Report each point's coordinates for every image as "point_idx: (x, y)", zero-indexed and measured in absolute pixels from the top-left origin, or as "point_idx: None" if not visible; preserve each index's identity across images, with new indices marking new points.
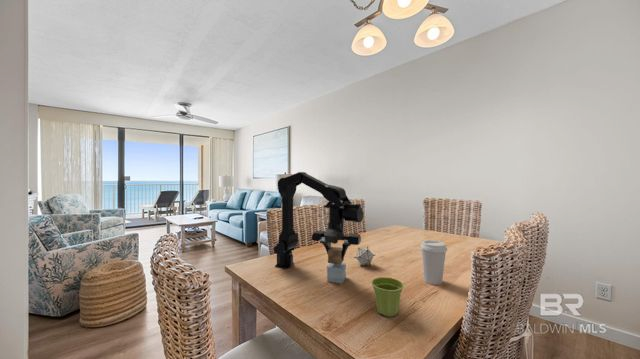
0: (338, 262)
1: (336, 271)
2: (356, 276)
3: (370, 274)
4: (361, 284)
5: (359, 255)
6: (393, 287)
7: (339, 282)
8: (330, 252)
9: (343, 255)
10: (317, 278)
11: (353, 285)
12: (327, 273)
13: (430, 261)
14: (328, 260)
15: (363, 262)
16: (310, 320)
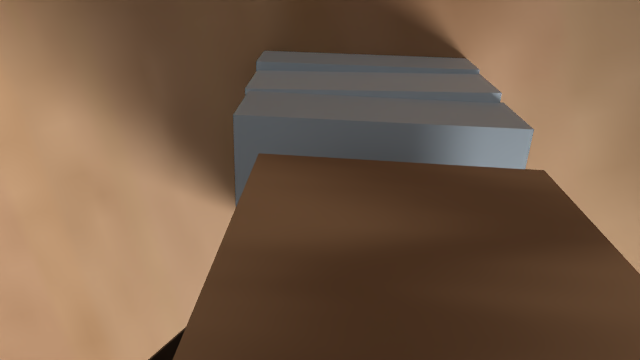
0: (302, 173)
1: (344, 102)
2: (161, 273)
3: (44, 347)
4: (42, 93)
5: None
6: None
7: (300, 52)
8: (603, 332)
9: (172, 351)
10: (606, 105)
11: (119, 37)
12: (491, 87)
13: None
14: (556, 194)
15: None
16: None
